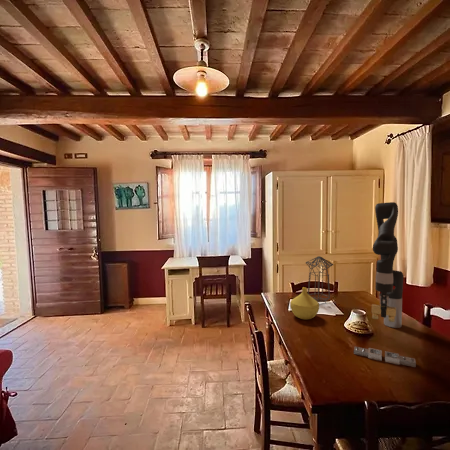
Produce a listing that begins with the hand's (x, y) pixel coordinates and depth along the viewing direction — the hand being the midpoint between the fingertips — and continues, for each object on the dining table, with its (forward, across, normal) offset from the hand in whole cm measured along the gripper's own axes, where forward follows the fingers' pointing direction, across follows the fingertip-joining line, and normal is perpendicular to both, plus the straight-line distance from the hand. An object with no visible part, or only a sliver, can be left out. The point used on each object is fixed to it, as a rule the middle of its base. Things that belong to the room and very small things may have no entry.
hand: (383, 315), depth 140 cm
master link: (+2, 0, 0) cm, 2 cm away
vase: (+18, -26, -45) cm, 55 cm away
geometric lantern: (+17, -59, -42) cm, 75 cm away
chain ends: (+18, +8, 0) cm, 20 cm away
